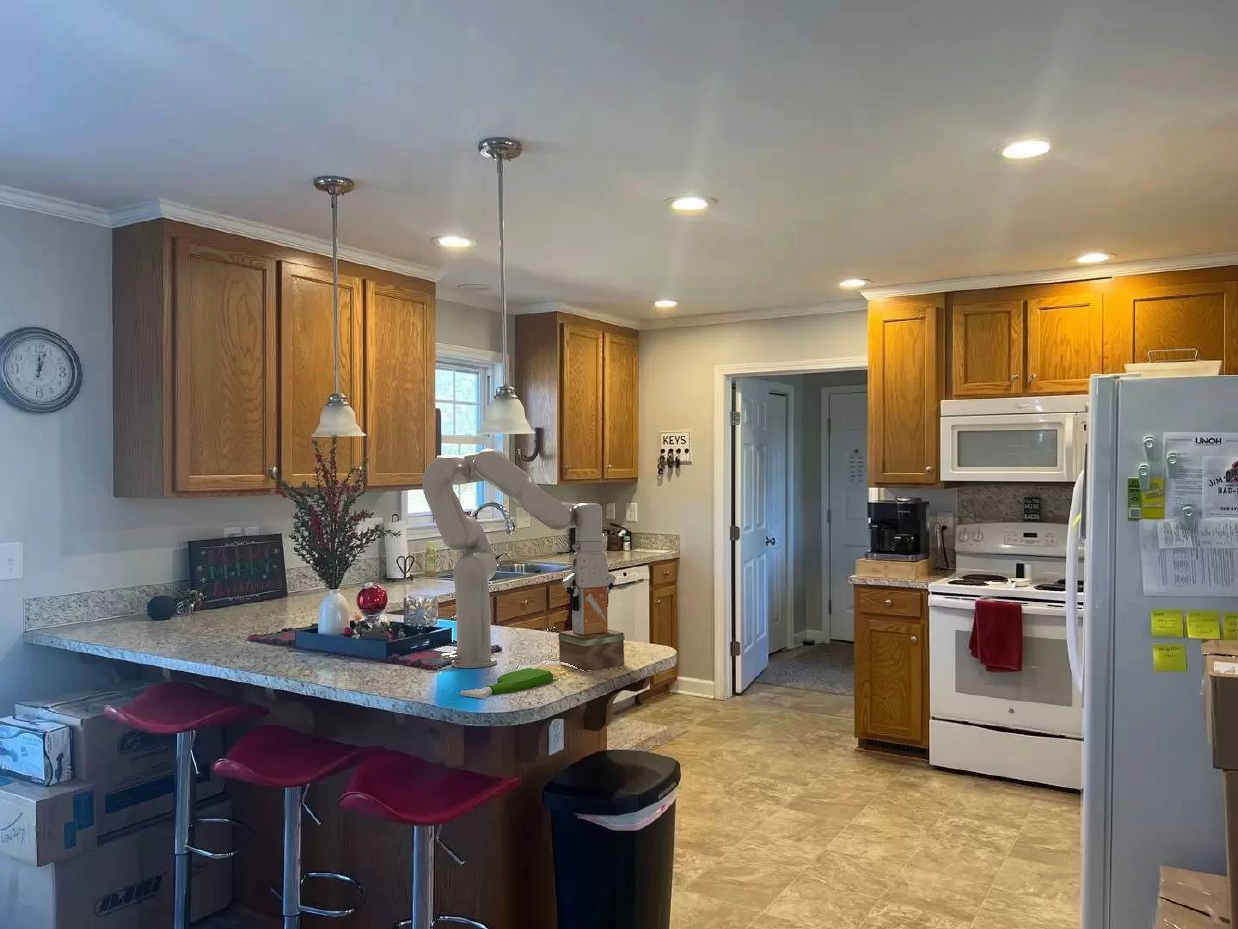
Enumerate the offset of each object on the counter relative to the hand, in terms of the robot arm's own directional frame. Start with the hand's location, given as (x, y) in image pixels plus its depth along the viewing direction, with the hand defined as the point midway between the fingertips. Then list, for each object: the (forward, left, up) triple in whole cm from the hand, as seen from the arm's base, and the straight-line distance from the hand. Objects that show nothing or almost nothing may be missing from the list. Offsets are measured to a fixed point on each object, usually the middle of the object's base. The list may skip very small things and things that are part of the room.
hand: (589, 608), depth 252 cm
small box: (0, 0, -7) cm, 7 cm away
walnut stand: (0, 0, -16) cm, 16 cm away
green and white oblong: (-31, -10, -16) cm, 37 cm away
